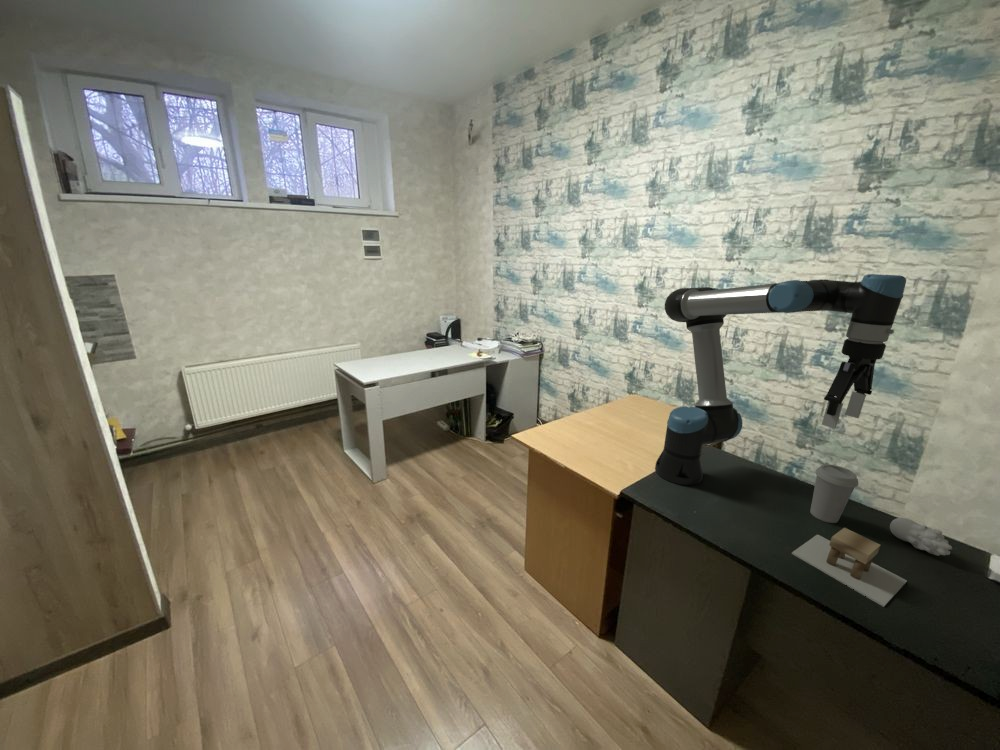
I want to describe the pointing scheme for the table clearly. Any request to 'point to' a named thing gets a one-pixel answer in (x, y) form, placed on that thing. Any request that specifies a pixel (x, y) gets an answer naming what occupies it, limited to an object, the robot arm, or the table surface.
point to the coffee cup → (832, 492)
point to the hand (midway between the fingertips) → (840, 421)
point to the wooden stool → (853, 550)
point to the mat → (871, 583)
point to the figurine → (920, 536)
